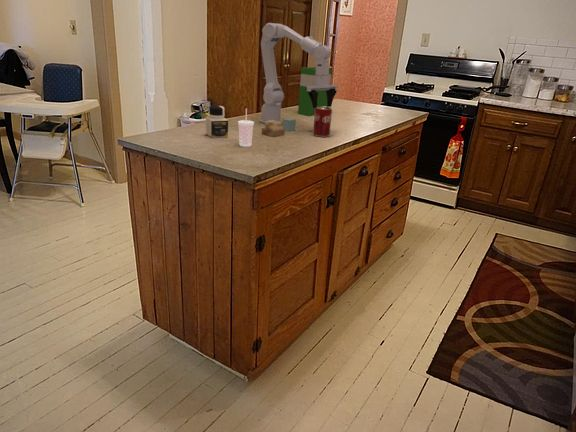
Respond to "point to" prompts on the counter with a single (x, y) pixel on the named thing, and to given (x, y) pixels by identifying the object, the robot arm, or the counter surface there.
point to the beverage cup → (245, 132)
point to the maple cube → (273, 125)
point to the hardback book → (304, 99)
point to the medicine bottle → (216, 122)
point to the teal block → (289, 124)
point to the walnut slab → (273, 132)
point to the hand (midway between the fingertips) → (322, 107)
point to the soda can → (322, 121)
